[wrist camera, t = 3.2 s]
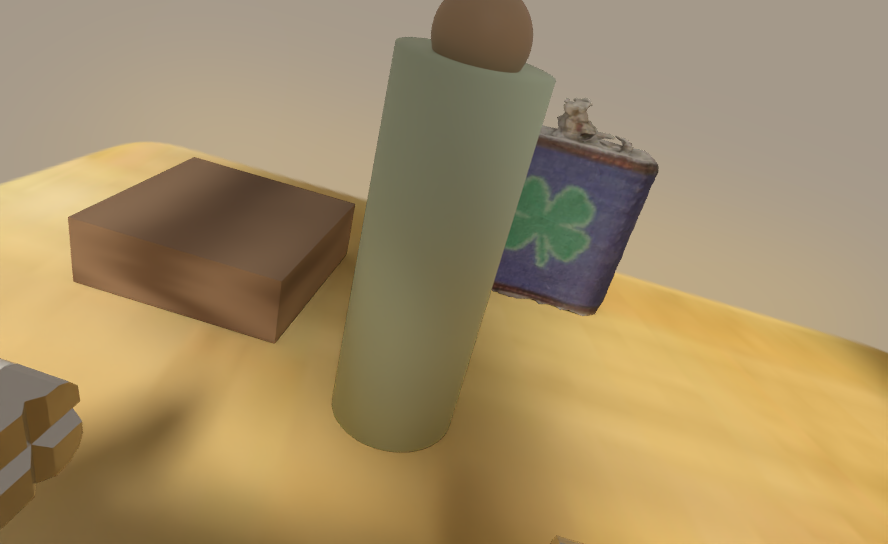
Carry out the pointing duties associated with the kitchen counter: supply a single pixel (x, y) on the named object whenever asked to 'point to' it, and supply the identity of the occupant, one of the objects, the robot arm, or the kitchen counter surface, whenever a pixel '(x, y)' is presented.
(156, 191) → the plinth
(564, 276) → the flask
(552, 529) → the kitchen counter surface
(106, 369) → the kitchen counter surface
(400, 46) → the pepper mill
